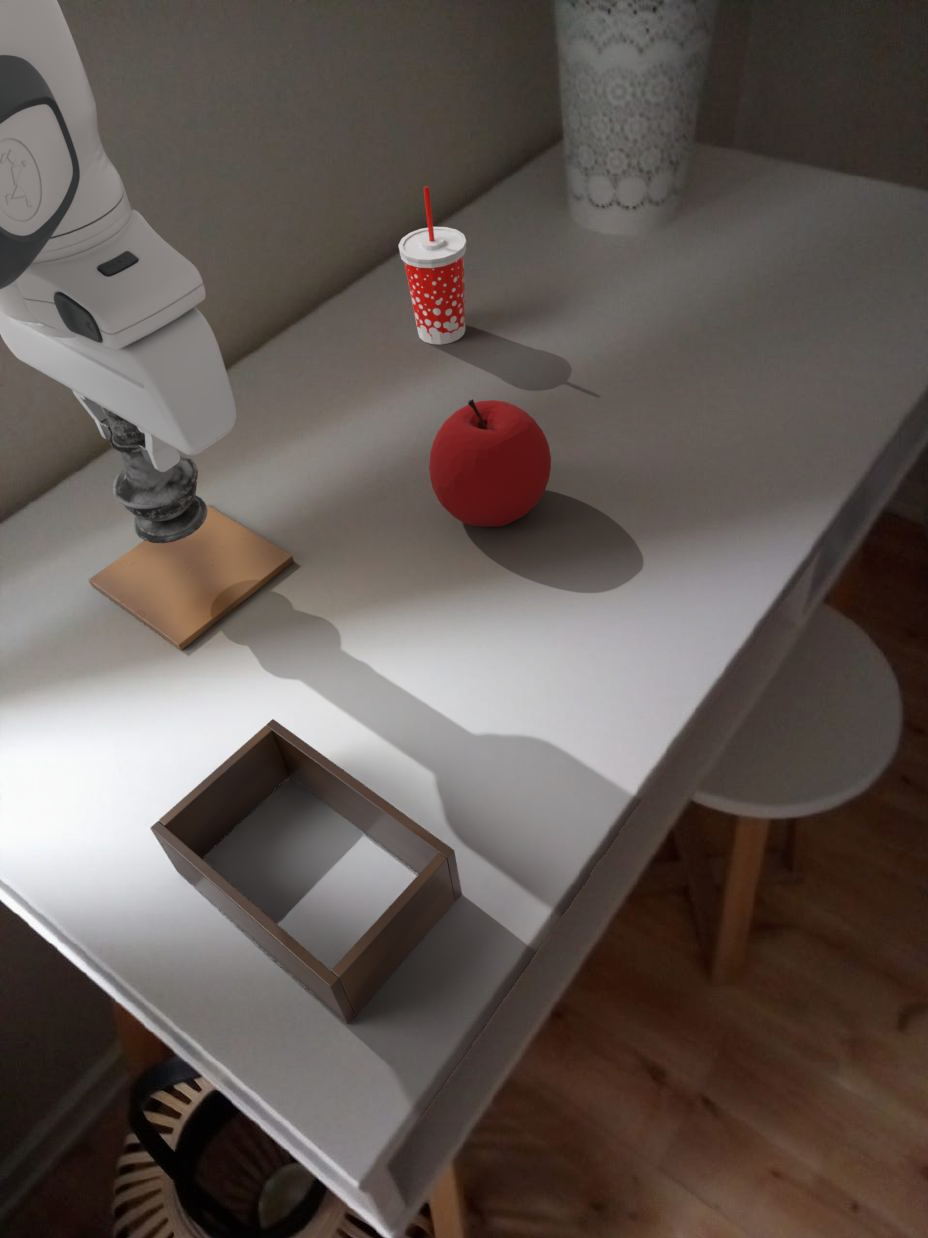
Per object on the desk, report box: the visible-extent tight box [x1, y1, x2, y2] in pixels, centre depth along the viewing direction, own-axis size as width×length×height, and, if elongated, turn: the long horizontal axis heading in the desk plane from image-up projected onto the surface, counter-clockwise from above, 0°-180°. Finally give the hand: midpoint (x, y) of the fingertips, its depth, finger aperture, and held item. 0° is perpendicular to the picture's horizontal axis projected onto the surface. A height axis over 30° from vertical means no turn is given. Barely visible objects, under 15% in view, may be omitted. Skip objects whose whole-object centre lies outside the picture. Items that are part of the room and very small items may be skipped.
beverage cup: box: [397, 185, 467, 346], centre depth 89 cm, size 6×6×14 cm
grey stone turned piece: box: [101, 406, 207, 543], centre depth 65 cm, size 6×6×12 cm
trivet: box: [88, 504, 294, 651], centre depth 74 cm, size 11×11×1 cm
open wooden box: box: [150, 718, 463, 1025], centre depth 54 cm, size 9×14×5 cm, turn 50°
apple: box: [428, 398, 552, 528], centre depth 72 cm, size 9×9×10 cm
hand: (142, 450), depth 65 cm, fingers closed on grey stone turned piece, 3 cm apart
